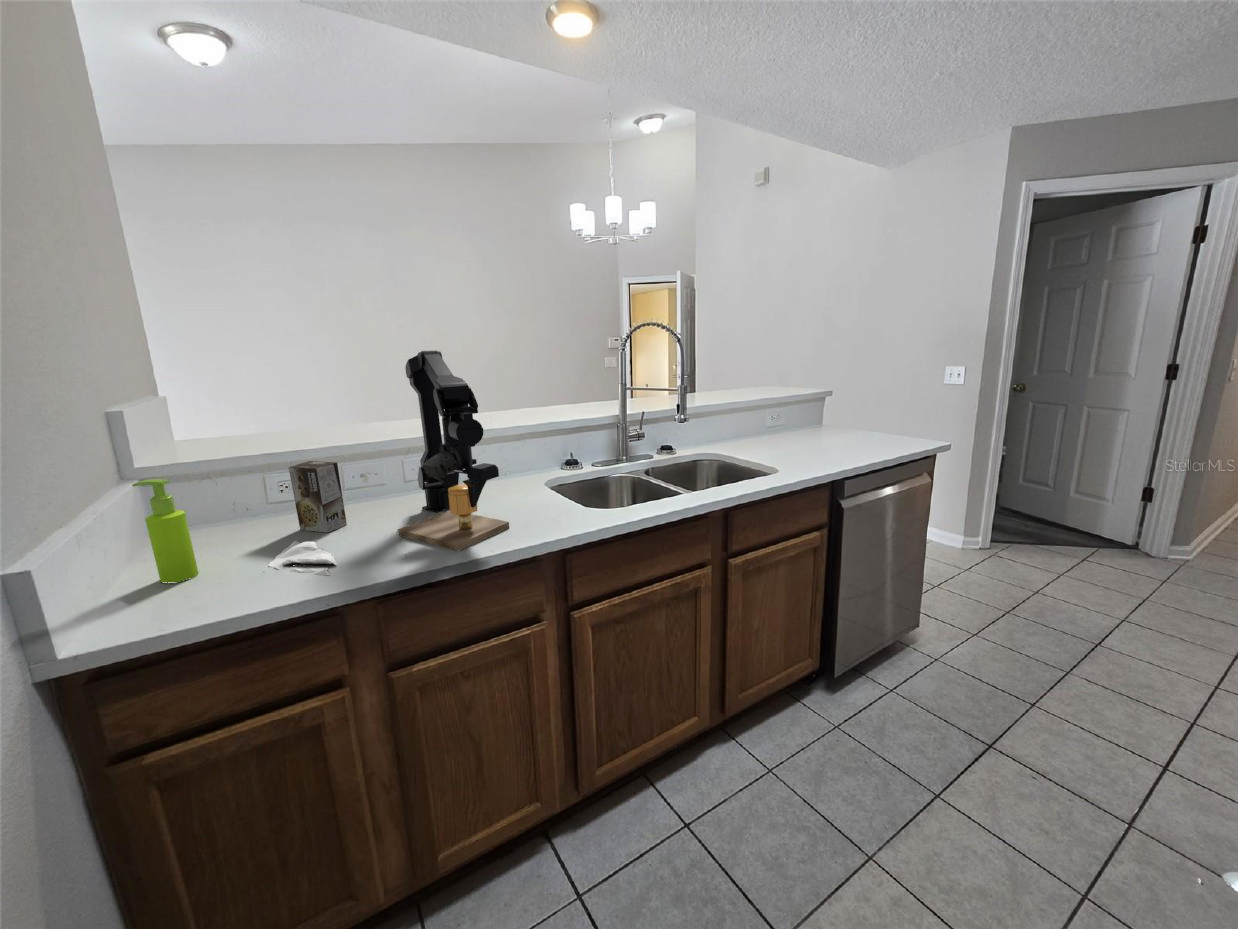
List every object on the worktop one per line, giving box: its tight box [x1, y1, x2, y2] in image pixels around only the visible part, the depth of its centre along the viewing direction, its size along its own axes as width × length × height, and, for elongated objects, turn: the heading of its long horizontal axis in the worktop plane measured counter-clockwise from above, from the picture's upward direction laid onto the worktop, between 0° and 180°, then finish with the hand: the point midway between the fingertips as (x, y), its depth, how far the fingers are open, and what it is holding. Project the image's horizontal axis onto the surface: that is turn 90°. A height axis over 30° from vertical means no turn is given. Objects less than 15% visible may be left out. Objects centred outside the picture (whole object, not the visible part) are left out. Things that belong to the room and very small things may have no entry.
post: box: [458, 513, 473, 531], centre depth 124 cm, size 3×3×4 cm
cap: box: [448, 483, 478, 515], centre depth 123 cm, size 6×6×6 cm
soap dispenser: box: [131, 478, 199, 583], centre depth 103 cm, size 6×7×20 cm
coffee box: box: [288, 460, 348, 533], centre depth 131 cm, size 9×6×16 cm
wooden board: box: [397, 509, 510, 552], centre depth 127 cm, size 20×16×2 cm
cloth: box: [267, 540, 338, 576], centre depth 114 cm, size 26×14×2 cm, turn 31°
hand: (463, 505), depth 124 cm, fingers closed on cap, 6 cm apart
